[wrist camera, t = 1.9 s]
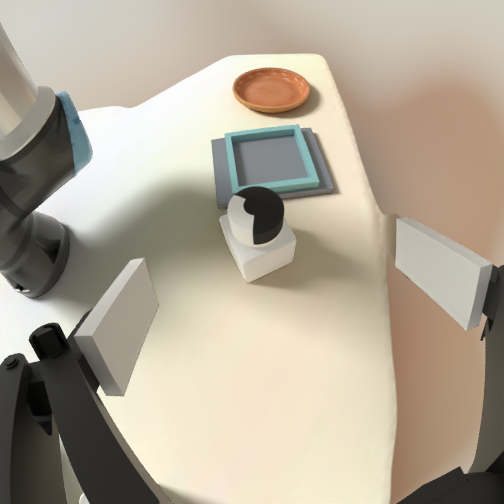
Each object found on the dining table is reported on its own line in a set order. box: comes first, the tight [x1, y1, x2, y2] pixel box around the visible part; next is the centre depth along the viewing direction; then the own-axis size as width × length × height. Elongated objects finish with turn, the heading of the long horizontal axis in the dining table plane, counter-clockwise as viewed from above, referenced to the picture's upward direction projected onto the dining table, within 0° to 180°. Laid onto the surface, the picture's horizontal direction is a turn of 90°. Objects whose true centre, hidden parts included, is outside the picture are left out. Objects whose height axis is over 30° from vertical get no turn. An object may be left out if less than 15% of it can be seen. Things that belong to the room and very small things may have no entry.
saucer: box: [232, 68, 310, 113], centre depth 55 cm, size 16×16×3 cm
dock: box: [211, 125, 334, 209], centre depth 46 cm, size 18×14×3 cm
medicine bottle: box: [219, 186, 297, 283], centre depth 36 cm, size 7×7×12 cm
